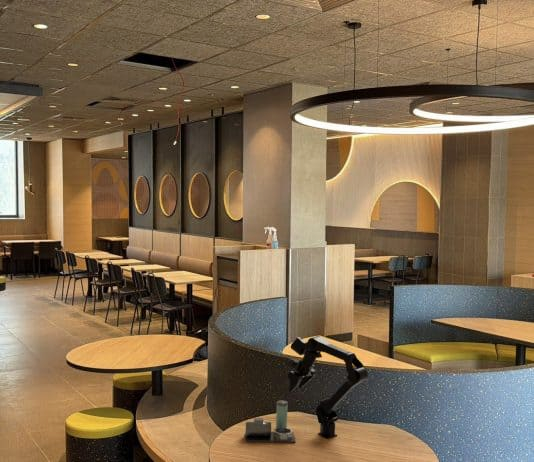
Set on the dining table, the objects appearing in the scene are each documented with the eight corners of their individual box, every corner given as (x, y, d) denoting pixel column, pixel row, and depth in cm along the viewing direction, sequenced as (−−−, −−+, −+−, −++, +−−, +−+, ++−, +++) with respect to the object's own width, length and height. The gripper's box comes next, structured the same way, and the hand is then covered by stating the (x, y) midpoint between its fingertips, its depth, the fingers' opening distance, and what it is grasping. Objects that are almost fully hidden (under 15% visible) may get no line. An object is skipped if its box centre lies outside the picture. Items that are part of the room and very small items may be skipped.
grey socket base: (292, 434, 267) (293, 415, 267) (295, 443, 257) (295, 423, 257) (245, 433, 266) (246, 414, 266) (245, 442, 256) (246, 423, 256)
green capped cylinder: (288, 430, 271) (289, 403, 270) (280, 433, 268) (281, 404, 267) (282, 427, 275) (283, 399, 274) (273, 429, 272) (274, 401, 272)
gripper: (304, 349, 286) (291, 376, 289) (284, 354, 270) (271, 383, 273) (322, 361, 280) (309, 389, 283) (303, 367, 264) (290, 397, 268)
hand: (294, 389), depth 277 cm, fingers open, 9 cm apart
